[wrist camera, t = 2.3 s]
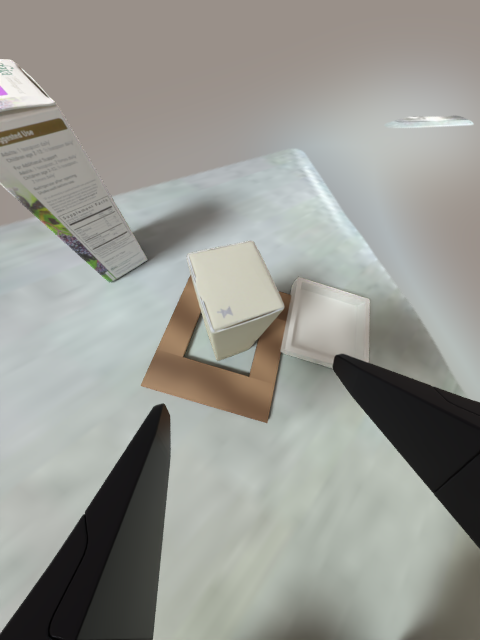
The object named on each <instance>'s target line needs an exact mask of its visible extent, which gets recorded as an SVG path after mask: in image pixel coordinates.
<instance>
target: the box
mask: <svg viewBox="0 0 480 640" xmlns="http://www.w3.org/2000/svg"><path fill="white" fill-rule="evenodd" d="M187 262H188V266H189V270H190V273H191V277H192V281H193V285H194V288H195V292H196V295H197V299H198V302H199V306H200V309H201V313H202V316H203V319H204V323H205V326H206V330H207V333H208V336H209V339H210V342H211V345H212V348H213V351H214V354H215V357H216V360H217V361H219V360H222V359H225V358H228V357H231V356H233V355H236V354H239V353H241V352H244V351H246V350H248V349H250V347H251V346H252V345H253V344H254V343H255V342H256V341H257V339H258V338H259V337H260V336H261V335H262V334H263V333H264V331H265V330H266V329H267V328H268V327H269V326H270V325H271V323H272V322H273V321H274V320H275V319H276V318H277V316H278V315H279V314H280V313H281V312H282V311H283V309H284V303H283V301H282V298H281V296H280V294H279V292H278V289H277V287H276V285H275V283H274V281H273V279H272V277H271V275H270V272H269V270H268V268H267V266H266V264H265V262H264V260H263V258H262V256H261V254H260V252H259V250H258V249H257V247H256V245H255V243H254V242H253V241H246V242H241V243H236V244H230V245H226V246H221V247H215V248H210V249H206V250H201V251H196V252H192V253H188V254H187Z"/></svg>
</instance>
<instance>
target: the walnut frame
mask: <svg viewBox="0 0 480 640" xmlns="http://www.w3.org/2000/svg"><path fill="white" fill-rule="evenodd" d="M278 292H279V294H280V296H281V298H282V301H283V303H284V309H283V311H282V312H281V313H280V314H279V315H278V316H277V318H276V319H275V320H274V321H273V322H272V323H271V325H270V326H269V327H268V328H267V329H266V330H265V331H264V333H263V334H262V335H261V336H260V337H259V338H258V342H257V346H256V350H255V355H254V359H253V363H252V367H251V371H250V375H249V377H248V376H244V375H241V374H238V373H234V372H231V371H228V370H224V369H221V368H218V367H214V366H211V365H208V364H204V363H201V362H198V361H194V360H191V359H188V358H184V355H185V352H186V350H187V347H188V345H189V342H190V340H191V337H192V335H193V332H194V329H195V327H196V324H197V322H198V319H199V317H200V314H201V309H200V306H199V302H198V299H197V295H196V292H195V288H194V285H193V281H192V277H191V275H190V277H189V279H188V282H187V284H186V286H185V288H184V291H183V293H182V295H181V297H180V299H179V302H178V304H177V306H176V308H175V310H174V313H173V315H172V317H171V319H170V322H169V324H168V326H167V328H166V330H165V333H164V335H163V337H162V339H161V341H160V344H159V346H158V348H157V350H156V353H155V355H154V357H153V359H152V361H151V364H150V366H149V368H148V370H147V373H146V375H145V377H144V379H143V381H142V384H141V386H143V387H146V388H150V389H153V390H156V391H160V392H163V393H167V394H170V395H173V396H177V397H180V398H184V399H187V400H190V401H194V402H197V403H201V404H204V405H207V406H211V407H214V408H218V409H221V410H224V411H228V412H231V413H235V414H238V415H241V416H245V417H248V418H252V419H255V420H258V421H262V422H265V423H267V422H268V417H269V411H270V406H271V401H272V396H273V391H274V386H275V381H276V375H277V370H278V365H279V360H280V355H281V352H280V351H281V346H282V340H283V335H284V330H285V325H286V320H287V315H288V310H289V305H290V300H291V295H289V294H286V293H283V292H280V291H278Z"/></svg>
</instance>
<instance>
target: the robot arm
mask: <svg viewBox="0 0 480 640" xmlns="http://www.w3.org/2000/svg"><path fill="white" fill-rule="evenodd" d="M332 367H333V370H334V372H335V373H336V375H337V376H338V377H339V379H340V380H341V382H342V383H343V385H344V386H345V387H346V389H347V390H348V392H349V393H350V394H351V396H352V397H353V398H354V399H355V401H356V402H357V403H358V404H359V405H360V407H361V408H362V409H363V410H364V411H365V412H366V414H367V415H368V416H369V417H370V418H371V420H372V421H373V422H374V423H375V424H376V426H377V427H378V428H379V429H380V430H381V432H382V433H383V434H384V435H385V436H386V437H387V439H388V440H389V441H390V442H391V443H392V445H393V446H394V447H395V448H396V449H397V451H398V452H399V453H400V454H401V455H402V457H403V458H404V459H405V460H406V461H407V463H408V464H409V465H410V466H411V467H412V468H413V470H414V471H415V472H416V473H417V474H418V476H419V477H420V478H421V479H422V480H423V482H424V483H425V484H426V485H427V486H428V488H429V489H430V490H431V491H432V492H433V493H434V495H435V496H436V497H437V498H438V500H439V501H440V502H441V503H442V504H443V506H444V507H445V508H446V509H447V510H448V512H449V513H450V514H451V515H452V516H453V517H454V519H455V520H456V521H457V522H458V523H459V525H460V526H461V527H462V528H463V529H464V531H465V532H466V533H467V534H468V535H469V537H470V538H471V539H472V540H473V541H474V543H475V544H476V545H477V546H478V547H479V548H480V402H477V401H473V400H470V399H467V398H464V397H461V396H459V395H456V394H453V393H450V392H447V391H444V390H442V389H439V388H436V387H432V386H431V385H428V384H425V383H423V382H420V381H417V380H414V379H412V378H409V377H406V376H403V375H401V374H398V373H395V372H392V371H390V370H387V369H384V368H381V367H379V366H376V365H373V364H370V363H368V362H365V361H362V360H360V359H357V358H354V357H351V356H349V355H346V354H338V355H335V357H334V361H333V365H332ZM170 451H171V448H170V414H169V412H168V410H167V408H166V406H165V404H159V405H156V406H154V407H153V408H152V410H151V411H150V413H149V415H148V416H147V418H146V419H145V421H144V422H143V424H142V425H141V427H140V428H139V430H138V431H137V433H136V434H135V436H134V437H133V439H132V441H131V442H130V444H129V445H128V447H127V448H126V450H125V451H124V453H123V454H122V456H121V457H120V459H119V460H118V462H117V464H116V465H115V467H114V468H113V470H112V471H111V473H110V474H109V476H108V477H107V479H106V480H105V482H104V483H103V485H102V486H101V488H100V490H99V491H98V493H97V494H96V496H95V497H94V499H93V500H92V502H91V503H90V505H89V506H88V508H87V509H86V511H85V514H84V515H83V516H82V517H81V518H80V520H79V522H78V523H77V525H76V526H75V528H74V529H73V531H72V532H71V534H70V535H69V537H68V538H67V540H66V541H65V543H64V544H63V546H62V547H61V549H60V550H59V552H58V553H57V555H56V556H55V558H54V559H53V560H52V562H51V563H50V565H49V566H48V568H47V569H46V570H45V572H44V573H43V575H42V576H41V578H40V579H39V580H38V582H37V583H36V585H35V586H34V587H33V589H32V590H31V592H30V593H29V594H28V596H27V597H26V599H25V600H24V601H23V603H22V604H21V606H20V607H19V608H18V610H17V611H16V612H15V614H14V615H13V617H12V618H11V619H10V621H9V622H8V624H7V625H6V626H5V628H4V629H3V630H2V632H1V633H0V640H153V632H154V622H155V612H156V601H157V591H158V581H159V571H160V560H161V550H162V540H163V529H164V519H165V509H166V499H167V488H168V478H169V468H170Z"/></svg>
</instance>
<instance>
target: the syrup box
mask: <svg viewBox="0 0 480 640" xmlns="http://www.w3.org/2000/svg"><path fill="white" fill-rule="evenodd" d="M0 184H1V185H2V186H3V187H4V188H5V189H6V190H7V191H8V192H9V193H11V194H12V195H13V196H14V197H15V198H16V199H17V200H18V201H19V202H20V203H22V204H23V205H24V206H25V207H26V208H27V209H28V210H29V211H30V212H32V213H33V214H34V215H35V216H36V217H37V218H38V219H39V220H40V221H41V222H43V223H44V224H45V225H46V226H47V227H48V228H49V229H50V230H51V231H53V232H54V233H55V234H56V235H57V236H58V237H59V238H60V239H61V240H63V241H64V242H65V243H66V244H67V245H68V246H69V247H70V248H71V249H72V250H74V251H75V252H76V253H77V254H78V255H79V256H80V257H81V258H82V259H84V260H85V261H86V262H87V263H88V264H89V265H90V266H91V267H93V268H94V269H95V270H96V271H97V272H98V273H99V274H100V275H101V276H102V277H104V278H105V279H106V280H107V281H108V282H113V281H114V280H116V279H118V278H119V277H121V276H123V275H124V274H126V273H128V272H129V271H131V270H133V269H134V268H136V267H137V266H139V265H141V264H142V263H144V262H145V261H147V260H148V259H147V257H146V255H145V254H144V252H143V250H142V248H141V247H140V245H139V243H138V241H137V240H136V238H135V236H134V234H133V233H132V231H131V229H130V228H129V226H128V224H127V222H126V221H125V219H124V217H123V216H122V214H121V212H120V211H119V209H118V207H117V206H116V204H115V202H114V200H113V198H112V197H111V195H110V193H109V191H108V190H107V188H106V186H105V184H104V183H103V181H102V179H101V178H100V176H99V174H98V173H97V171H96V169H95V168H94V166H93V164H92V162H91V160H90V159H89V157H88V155H87V154H86V152H85V150H84V149H83V147H82V145H81V144H80V142H79V141H78V138H77V137H76V135H75V133H74V132H73V130H72V128H71V127H70V125H69V123H68V122H67V120H66V118H65V116H64V115H63V113H62V111H61V109H60V108H59V106H58V105H57V104H56V102H54V100H52V99H51V98H50V97H49V96H48V95H47V94H46V93H45V91H44V90H43V89H42V88H41V87H40V86H39V85H38V83H37V82H36V81H35V80H34V79H33V78H31V77H30V76H29V75H28V74H27V73H26V72H25V71H24V70H23V69H22V68H21V67H20V66H19V65H18V64H17V63H15V62H13V61H12V60H4V59H0Z"/></svg>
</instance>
